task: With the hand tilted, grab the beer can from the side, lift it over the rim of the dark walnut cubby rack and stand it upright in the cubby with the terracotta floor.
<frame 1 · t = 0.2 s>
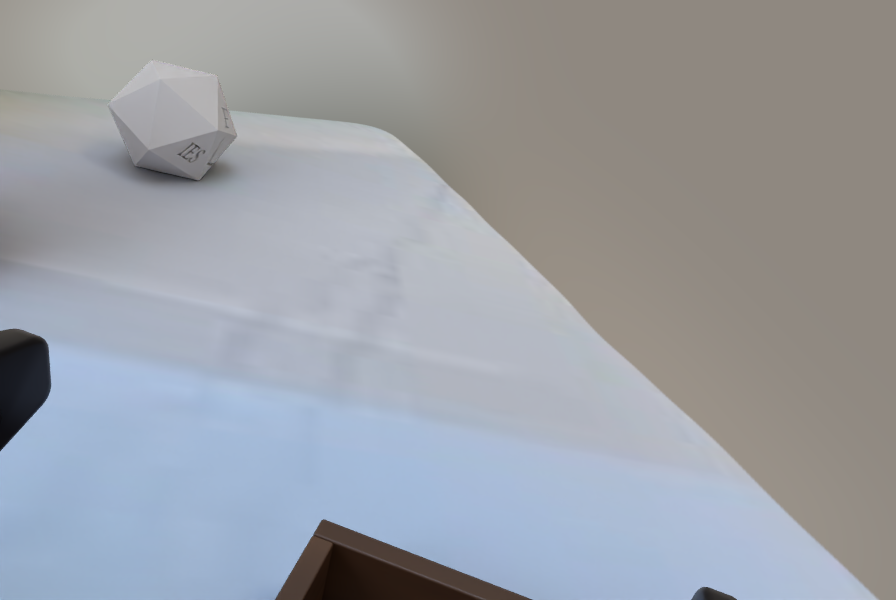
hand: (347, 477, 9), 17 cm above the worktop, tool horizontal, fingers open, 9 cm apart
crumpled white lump: (174, 169, 57), on the worktop
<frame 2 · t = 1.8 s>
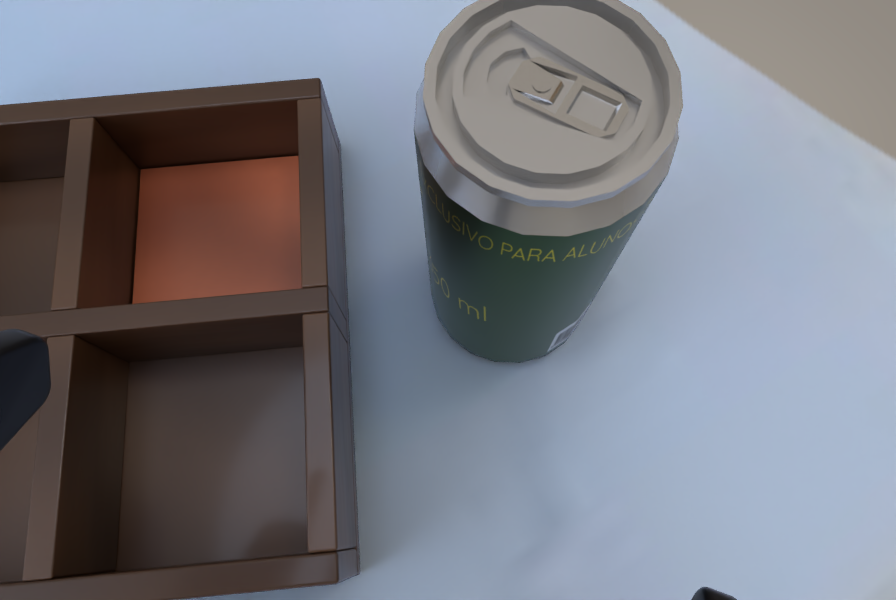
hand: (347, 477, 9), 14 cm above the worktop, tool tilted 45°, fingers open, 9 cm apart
rack: (126, 356, 24), on the worktop
beer can: (507, 296, 24), on the worktop
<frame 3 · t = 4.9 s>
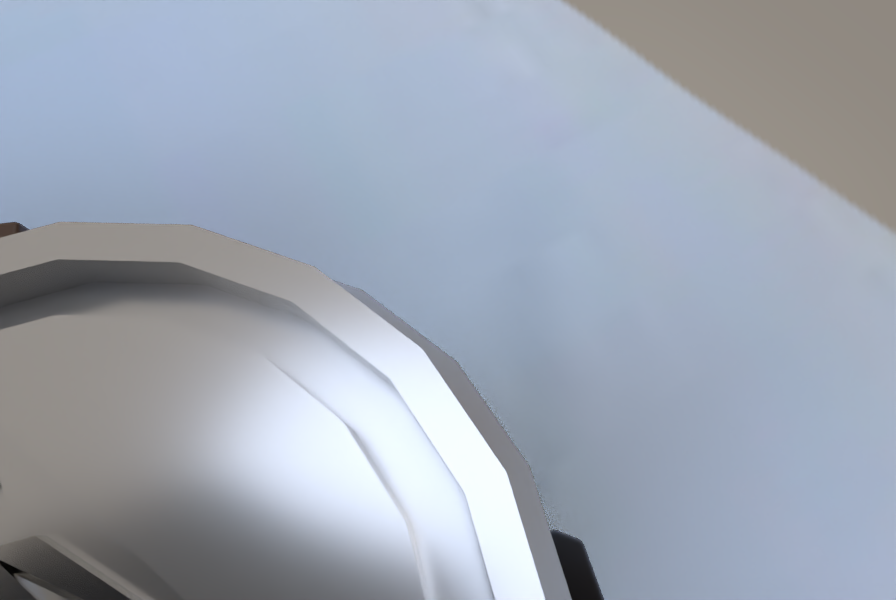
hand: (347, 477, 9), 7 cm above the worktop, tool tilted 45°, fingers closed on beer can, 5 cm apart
beer can: (374, 556, 15), on the worktop, touching gripper
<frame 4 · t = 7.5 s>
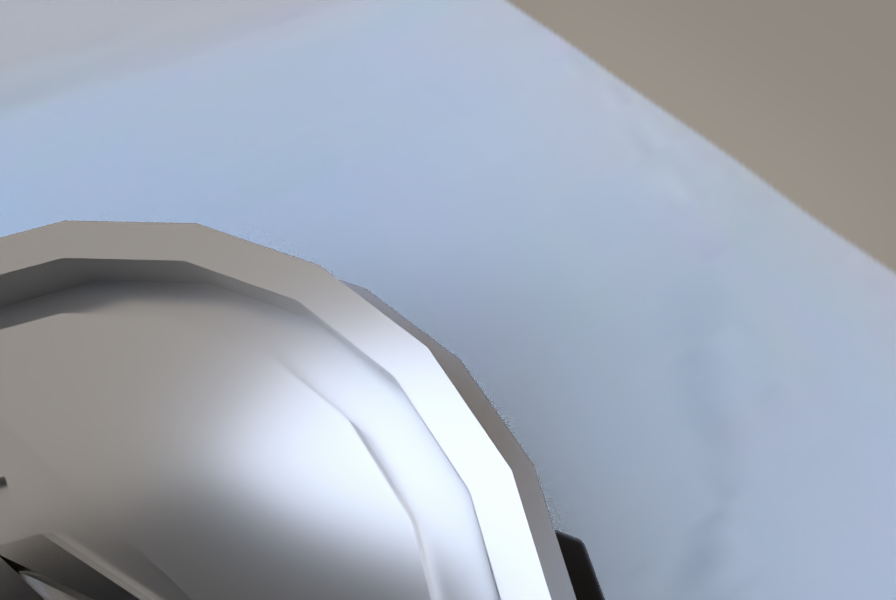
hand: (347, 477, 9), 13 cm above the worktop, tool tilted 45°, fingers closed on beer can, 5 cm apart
beer can: (375, 556, 15), point 6 cm above the worktop, touching gripper
when the fingers open (7 cm above the worktop, at t = 10.1 s): beer can stays where it is, resting on rack.
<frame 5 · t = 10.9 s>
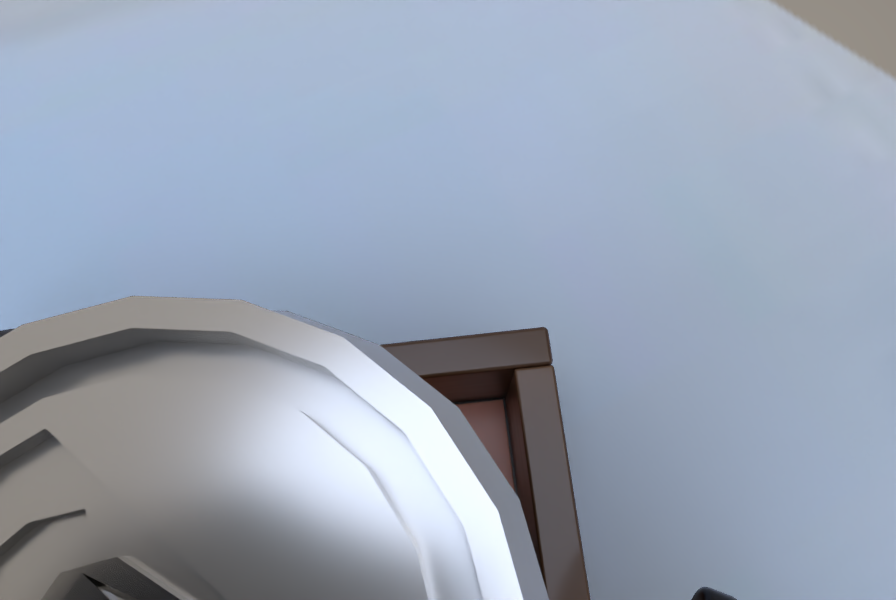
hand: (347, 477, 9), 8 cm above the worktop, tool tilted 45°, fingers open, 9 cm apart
beer can: (378, 562, 16), point 1 cm above the worktop, touching rack
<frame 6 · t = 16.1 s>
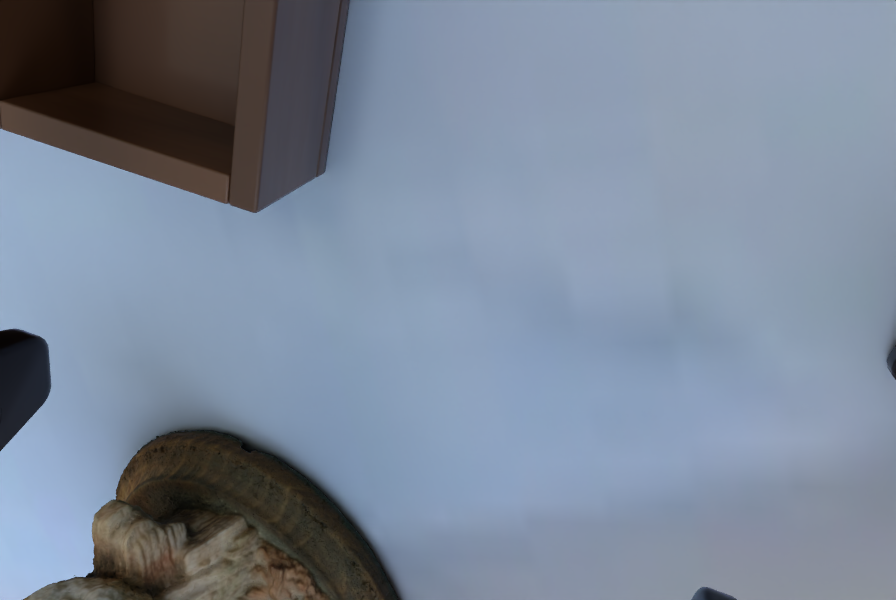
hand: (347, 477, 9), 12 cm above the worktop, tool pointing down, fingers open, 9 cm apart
owl figurine: (281, 591, 29), on the worktop
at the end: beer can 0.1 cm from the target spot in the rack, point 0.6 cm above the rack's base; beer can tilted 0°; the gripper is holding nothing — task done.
